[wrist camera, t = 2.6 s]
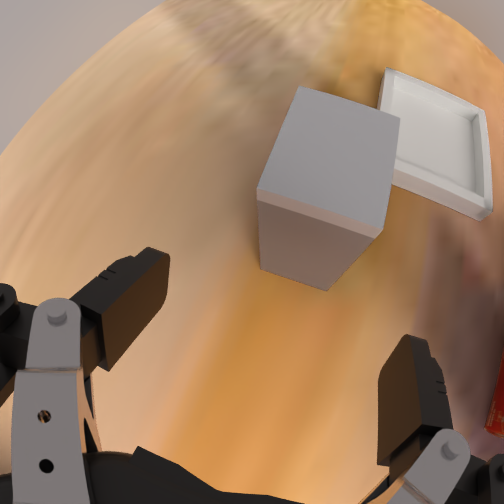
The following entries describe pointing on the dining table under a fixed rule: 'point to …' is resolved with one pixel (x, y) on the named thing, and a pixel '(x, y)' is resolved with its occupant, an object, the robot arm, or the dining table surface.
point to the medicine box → (497, 406)
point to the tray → (439, 145)
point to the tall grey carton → (325, 187)
